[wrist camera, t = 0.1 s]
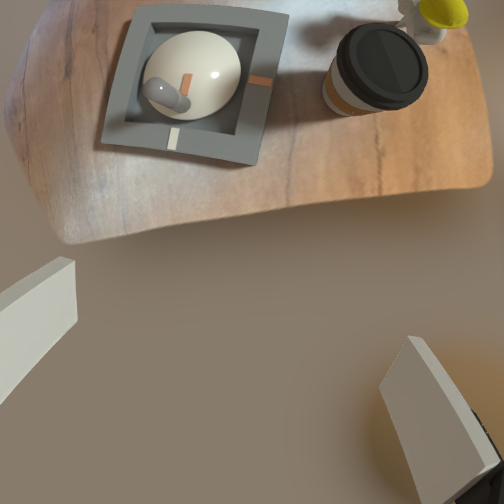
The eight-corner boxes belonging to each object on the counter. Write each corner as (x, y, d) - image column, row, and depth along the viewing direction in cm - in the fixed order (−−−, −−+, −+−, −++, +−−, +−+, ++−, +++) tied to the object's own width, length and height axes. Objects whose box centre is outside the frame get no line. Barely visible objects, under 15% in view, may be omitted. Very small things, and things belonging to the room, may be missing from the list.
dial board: (145, 14, 29) (136, 5, 26) (287, 25, 29) (289, 14, 26) (112, 143, 35) (99, 143, 32) (256, 165, 35) (255, 166, 32)
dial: (160, 34, 29) (127, -1, 19) (250, 40, 29) (244, -1, 19) (139, 116, 33) (95, 104, 22) (229, 127, 33) (214, 114, 23)
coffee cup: (325, 131, 34) (363, 115, 19) (304, 71, 31) (326, 22, 17) (383, 118, 33) (445, 101, 18) (363, 60, 30) (411, 16, 16)
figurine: (357, 45, 30) (401, -4, 15) (388, 10, 27) (434, -38, 13) (414, 94, 31) (480, 72, 17) (440, 56, 29) (502, 29, 14)
